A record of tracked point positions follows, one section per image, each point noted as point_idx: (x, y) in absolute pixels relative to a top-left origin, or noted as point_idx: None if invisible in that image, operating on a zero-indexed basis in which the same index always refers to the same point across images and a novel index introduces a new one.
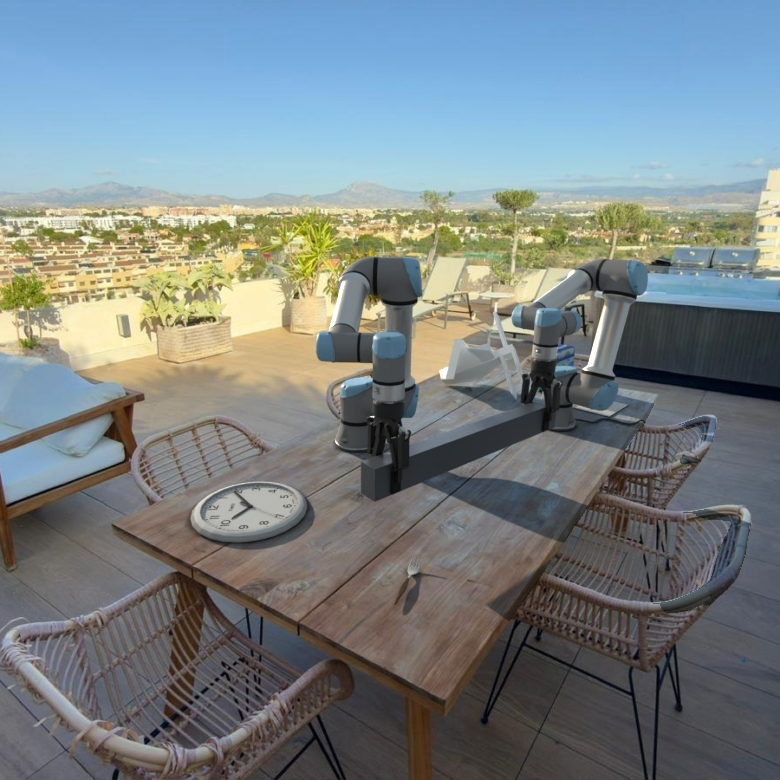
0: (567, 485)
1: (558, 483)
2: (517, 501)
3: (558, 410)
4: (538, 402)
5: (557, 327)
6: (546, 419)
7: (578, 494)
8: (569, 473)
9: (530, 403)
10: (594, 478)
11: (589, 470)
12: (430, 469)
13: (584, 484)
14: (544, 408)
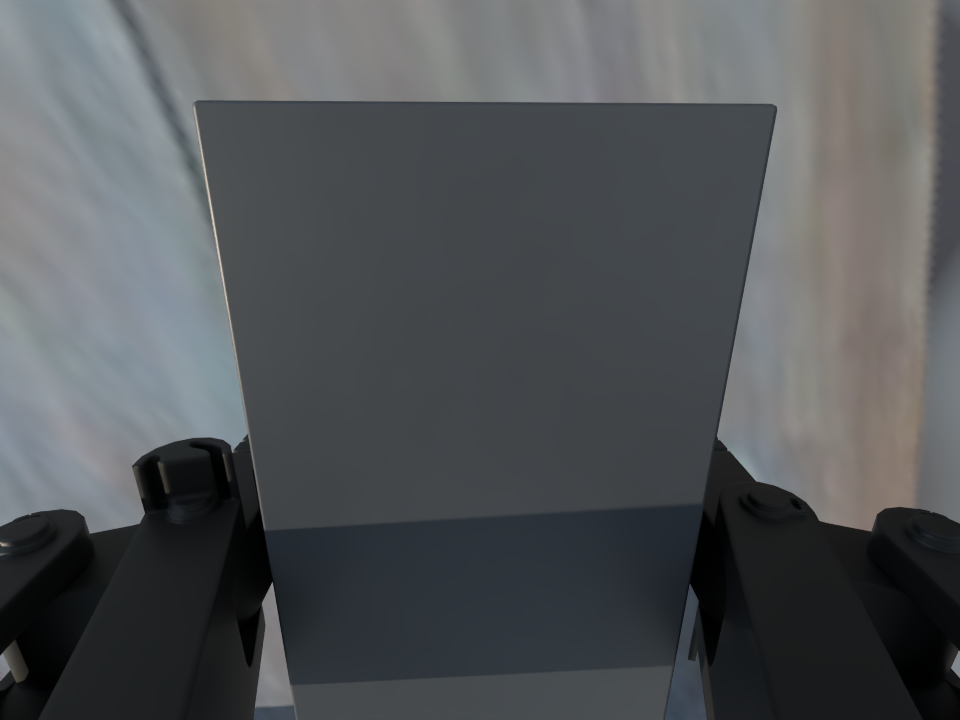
0: (795, 431)
1: (746, 447)
2: (675, 692)
3: (947, 524)
4: (372, 525)
5: None
6: None
7: (876, 472)
8: (748, 289)
9: (312, 696)
10: (905, 228)
11: (844, 134)
12: None
13: (872, 351)
14: (665, 665)
